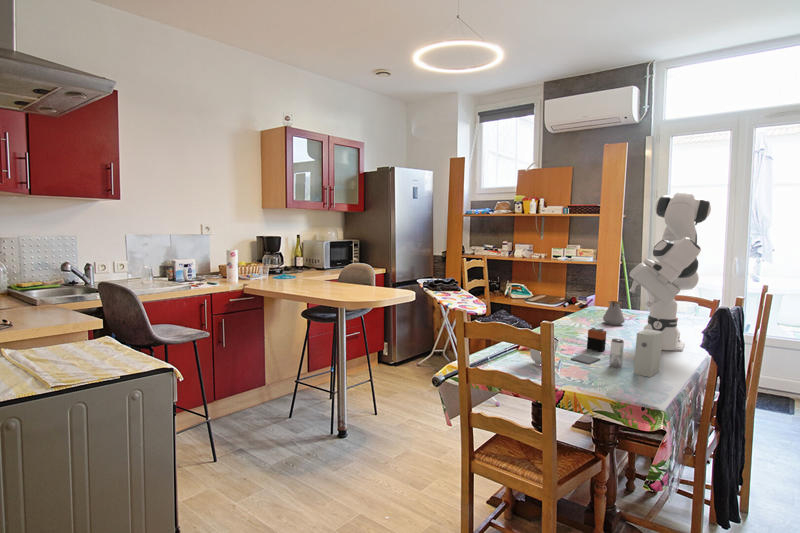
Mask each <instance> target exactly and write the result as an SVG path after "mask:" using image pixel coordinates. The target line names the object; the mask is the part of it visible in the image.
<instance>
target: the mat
mask: <svg viewBox="0 0 800 533" xmlns="http://www.w3.org/2000/svg"><path fill="white" fill-rule="evenodd" d="M570 360H571V361H574V362H579V363H583V364H585V365H592V364H594V363H596V362H598V361H601V357H596V356H592V355H587V354H583V353H581V354H579V355H576V356H573V357H571V358H570Z"/></svg>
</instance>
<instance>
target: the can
mask: <svg viewBox="0 0 800 533" xmlns="http://www.w3.org/2000/svg"><path fill="white" fill-rule="evenodd" d="M624 346H625V341H624V339H621V338H612V339H611V341H610V352H609V353H610V354H609V367H610V368H612V367H613V369H622V368H623V357H624Z"/></svg>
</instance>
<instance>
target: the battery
mask: <svg viewBox="0 0 800 533" xmlns="http://www.w3.org/2000/svg"><path fill="white" fill-rule="evenodd" d="M586 340H587V342H586V343H587V344H586V350H590V351H595V352H599V353H602V352H604V351H606V340H607V331H606V330H604V328H597V329H596V327H591V328H590V329H588V330H587V339H586Z"/></svg>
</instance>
